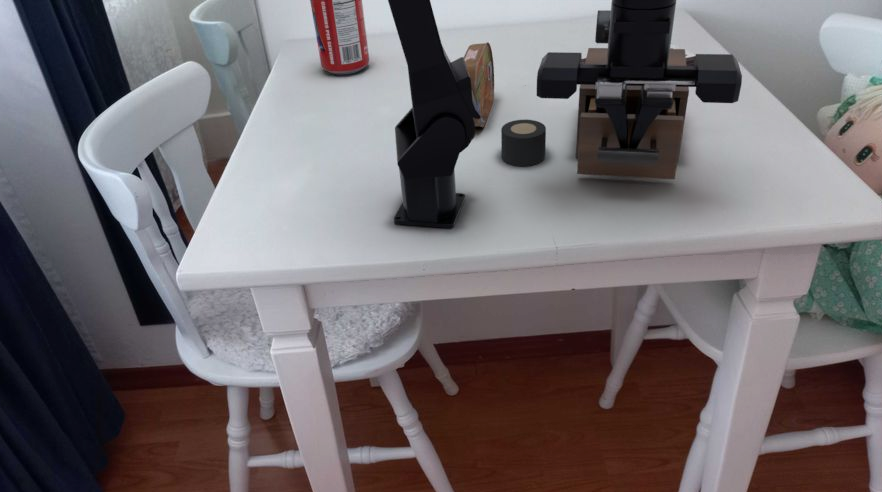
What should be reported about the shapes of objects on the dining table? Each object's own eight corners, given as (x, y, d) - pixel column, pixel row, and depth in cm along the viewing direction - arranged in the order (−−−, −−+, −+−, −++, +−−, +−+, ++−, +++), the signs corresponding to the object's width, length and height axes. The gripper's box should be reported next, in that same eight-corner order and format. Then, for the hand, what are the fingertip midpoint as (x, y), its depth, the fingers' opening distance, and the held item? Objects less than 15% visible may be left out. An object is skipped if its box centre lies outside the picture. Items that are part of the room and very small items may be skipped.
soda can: (350, 80, 109) (335, -22, 100) (312, 73, 112) (294, -26, 104) (379, 63, 114) (368, -35, 105) (342, 58, 118) (327, -38, 109)
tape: (542, 167, 81) (542, 138, 79) (498, 165, 83) (497, 136, 80) (547, 147, 85) (548, 120, 83) (505, 146, 87) (505, 118, 84)
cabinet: (678, 163, 80) (689, 91, 75) (575, 158, 83) (579, 88, 78) (675, 115, 90) (684, 49, 85) (584, 112, 93) (588, 47, 88)
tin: (480, 138, 89) (478, 73, 84) (456, 137, 89) (452, 73, 84) (496, 92, 101) (495, 33, 96) (475, 92, 101) (472, 34, 96)
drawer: (675, 198, 72) (685, 138, 68) (573, 192, 74) (577, 133, 70) (672, 130, 85) (680, 76, 81) (585, 127, 87) (589, 74, 83)
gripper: (743, -23, 68) (715, 126, 77) (550, -21, 72) (546, 121, 81) (757, 11, 59) (724, 174, 68) (537, 11, 63) (534, 165, 73)
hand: (627, 156), depth 73 cm, fingers closed, pressing on drawer
